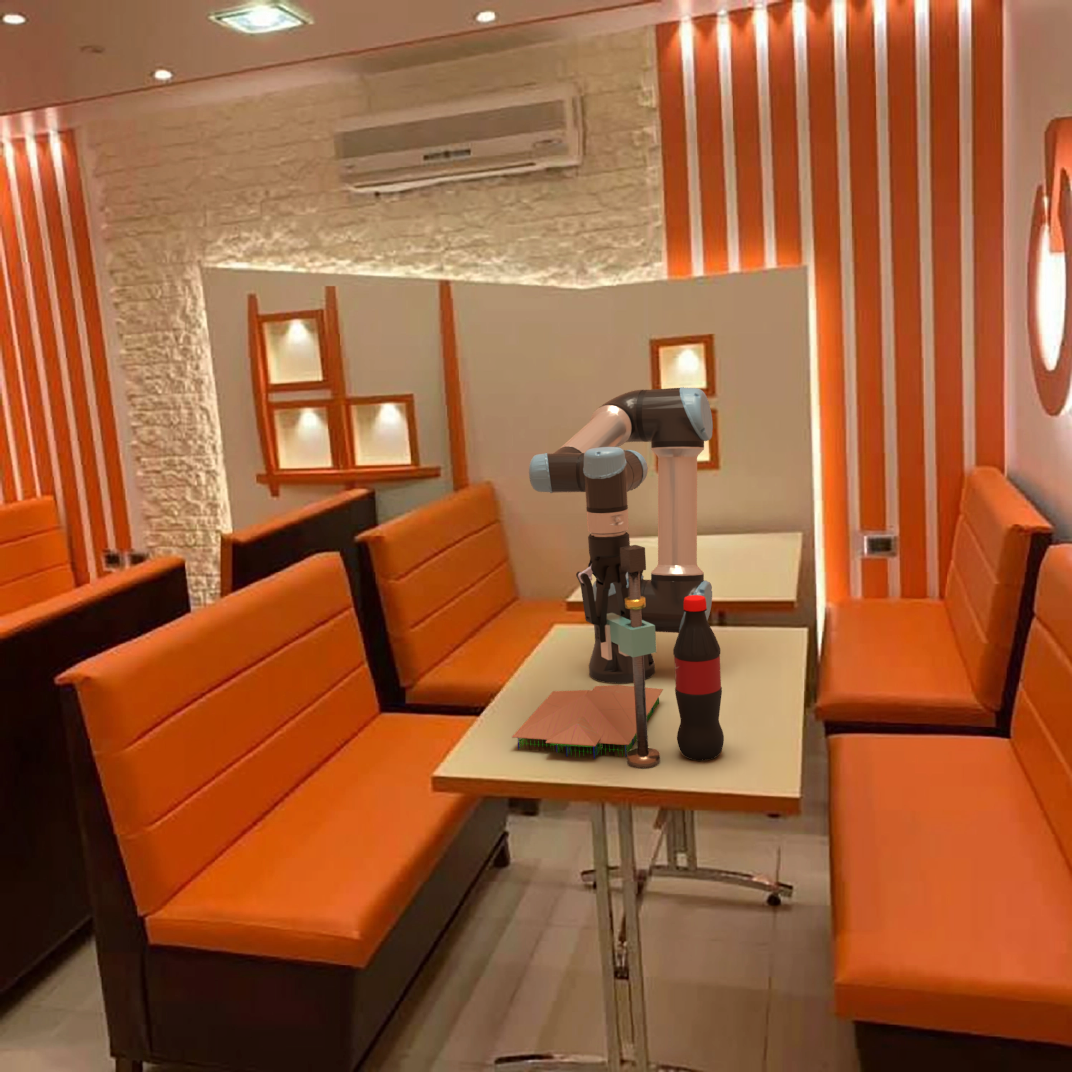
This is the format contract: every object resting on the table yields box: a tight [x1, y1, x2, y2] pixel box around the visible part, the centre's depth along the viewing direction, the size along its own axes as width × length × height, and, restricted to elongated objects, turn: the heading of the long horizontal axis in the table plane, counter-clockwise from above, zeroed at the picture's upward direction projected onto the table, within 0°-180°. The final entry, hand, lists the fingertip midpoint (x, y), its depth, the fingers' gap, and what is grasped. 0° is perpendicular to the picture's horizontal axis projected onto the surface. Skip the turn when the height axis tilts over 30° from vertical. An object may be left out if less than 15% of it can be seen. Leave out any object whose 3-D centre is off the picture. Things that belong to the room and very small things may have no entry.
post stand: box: [620, 544, 661, 769], centre depth 187 cm, size 6×6×40 cm
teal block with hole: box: [606, 613, 657, 657], centre depth 190 cm, size 14×5×5 cm, turn 25°
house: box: [511, 684, 664, 760], centre depth 208 cm, size 23×33×8 cm
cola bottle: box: [672, 595, 725, 762], centre depth 189 cm, size 8×8×30 cm
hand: (615, 655), depth 195 cm, fingers closed on teal block with hole, 3 cm apart
